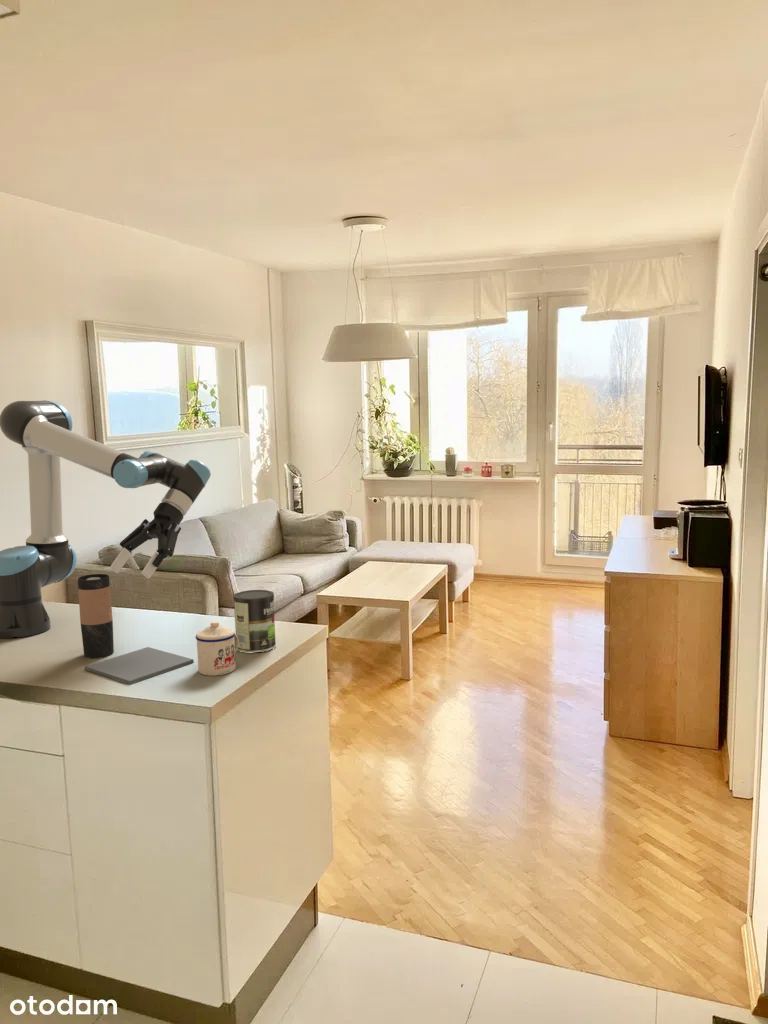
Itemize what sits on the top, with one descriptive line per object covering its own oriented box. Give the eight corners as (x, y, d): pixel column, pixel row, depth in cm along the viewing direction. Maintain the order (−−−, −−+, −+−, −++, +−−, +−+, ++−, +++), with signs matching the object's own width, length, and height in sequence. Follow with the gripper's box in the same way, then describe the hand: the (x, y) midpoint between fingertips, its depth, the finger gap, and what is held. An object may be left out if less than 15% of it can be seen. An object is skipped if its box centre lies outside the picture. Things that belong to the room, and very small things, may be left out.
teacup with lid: (218, 679, 177) (215, 629, 176) (189, 672, 182) (186, 624, 180) (252, 663, 187) (250, 616, 186) (224, 658, 192) (222, 612, 191)
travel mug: (121, 651, 200) (116, 575, 197) (99, 660, 193) (93, 581, 190) (99, 647, 203) (93, 572, 200) (76, 656, 196) (70, 579, 193)
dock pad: (84, 669, 186) (84, 666, 186) (148, 650, 200) (147, 647, 200) (130, 684, 175) (129, 680, 175) (193, 662, 189) (193, 659, 189)
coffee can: (281, 642, 204) (279, 589, 202) (268, 654, 194) (265, 599, 192) (244, 640, 206) (242, 588, 204) (229, 652, 196) (226, 598, 194)
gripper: (210, 520, 208) (168, 586, 198) (152, 514, 223) (110, 575, 213) (193, 503, 203) (149, 570, 193) (135, 498, 218) (91, 560, 208)
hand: (129, 573), depth 203 cm, fingers open, 13 cm apart
